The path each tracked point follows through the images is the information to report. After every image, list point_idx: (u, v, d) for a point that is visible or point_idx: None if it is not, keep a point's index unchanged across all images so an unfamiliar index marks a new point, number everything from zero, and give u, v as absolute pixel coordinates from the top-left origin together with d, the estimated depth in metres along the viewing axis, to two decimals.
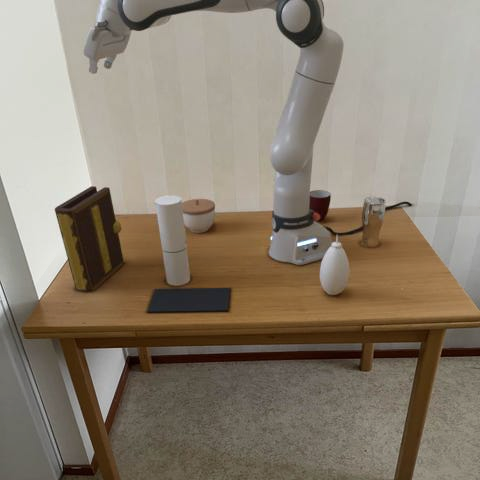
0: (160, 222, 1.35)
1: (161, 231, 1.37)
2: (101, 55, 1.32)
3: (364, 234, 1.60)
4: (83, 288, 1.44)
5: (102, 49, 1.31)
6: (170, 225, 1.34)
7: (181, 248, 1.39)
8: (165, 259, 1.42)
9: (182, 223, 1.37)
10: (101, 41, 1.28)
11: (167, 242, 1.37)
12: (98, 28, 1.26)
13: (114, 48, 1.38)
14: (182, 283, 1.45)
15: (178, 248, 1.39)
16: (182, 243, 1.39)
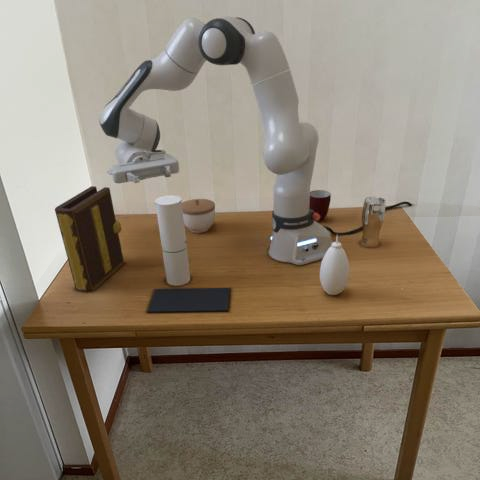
0: (160, 222, 1.35)
1: (161, 231, 1.37)
2: (125, 168, 1.43)
3: (364, 234, 1.60)
4: (83, 288, 1.44)
5: (122, 167, 1.44)
6: (170, 225, 1.34)
7: (181, 248, 1.39)
8: (165, 259, 1.42)
9: (182, 223, 1.37)
10: (114, 166, 1.45)
11: (167, 242, 1.37)
12: None
13: (149, 163, 1.46)
14: (182, 283, 1.45)
15: (178, 248, 1.39)
16: (182, 243, 1.39)
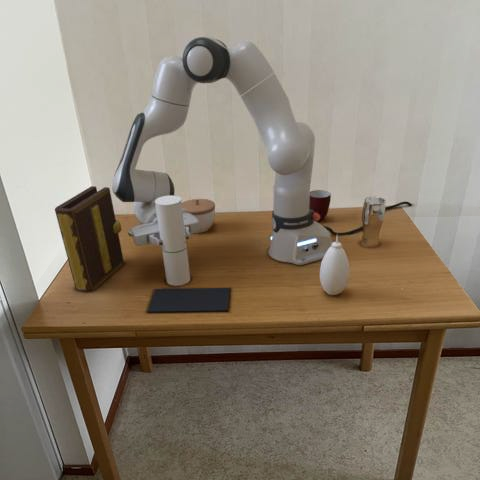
0: (160, 222, 1.35)
1: (161, 231, 1.37)
2: (146, 231, 1.41)
3: (364, 234, 1.60)
4: (83, 288, 1.44)
5: (143, 229, 1.42)
6: (170, 225, 1.34)
7: (181, 248, 1.39)
8: (164, 259, 1.42)
9: (182, 223, 1.37)
10: (135, 228, 1.43)
11: (167, 242, 1.37)
12: (132, 230, 1.46)
13: None
14: (182, 283, 1.45)
15: (178, 248, 1.39)
16: (182, 243, 1.39)
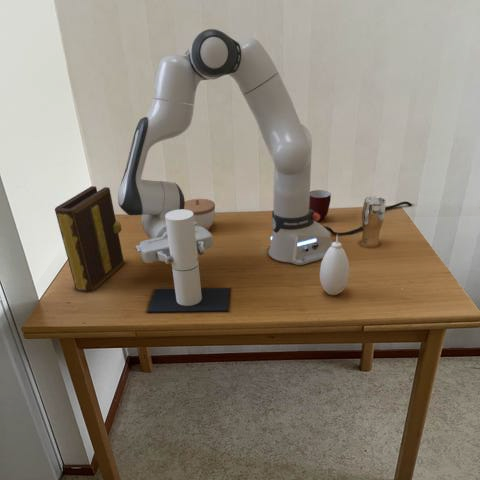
0: (170, 238, 1.25)
1: (171, 248, 1.26)
2: (155, 247, 1.30)
3: (364, 234, 1.60)
4: (83, 288, 1.44)
5: (152, 244, 1.32)
6: (181, 241, 1.24)
7: (193, 266, 1.29)
8: (175, 278, 1.31)
9: (194, 239, 1.26)
10: (143, 243, 1.33)
11: (178, 260, 1.27)
12: (140, 245, 1.35)
13: None
14: (193, 303, 1.35)
15: (189, 266, 1.28)
16: (194, 261, 1.28)
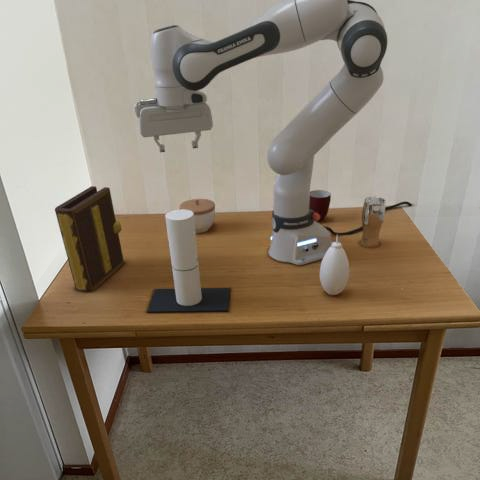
0: (170, 238, 1.25)
1: (171, 248, 1.26)
2: (154, 131, 1.32)
3: (364, 234, 1.60)
4: (83, 288, 1.44)
5: (152, 125, 1.31)
6: (181, 241, 1.24)
7: (193, 266, 1.29)
8: (175, 278, 1.31)
9: (194, 239, 1.26)
10: (144, 117, 1.30)
11: (178, 260, 1.27)
12: (140, 105, 1.29)
13: (182, 124, 1.33)
14: (193, 303, 1.35)
15: (190, 266, 1.28)
16: (194, 261, 1.28)
